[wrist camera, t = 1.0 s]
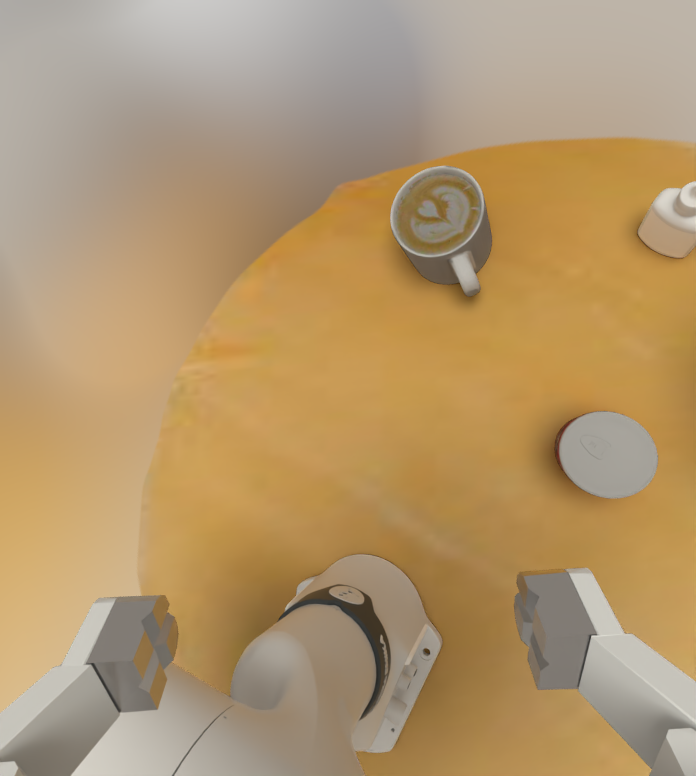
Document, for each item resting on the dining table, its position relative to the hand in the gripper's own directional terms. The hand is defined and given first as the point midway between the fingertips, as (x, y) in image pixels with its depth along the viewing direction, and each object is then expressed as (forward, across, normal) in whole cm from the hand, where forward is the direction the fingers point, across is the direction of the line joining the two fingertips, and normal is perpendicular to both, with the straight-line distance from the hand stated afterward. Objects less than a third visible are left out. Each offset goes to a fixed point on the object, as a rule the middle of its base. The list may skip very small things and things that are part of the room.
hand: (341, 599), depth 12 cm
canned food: (+36, +25, -25) cm, 51 cm away
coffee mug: (+54, +13, -8) cm, 56 cm away
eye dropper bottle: (+47, +34, -6) cm, 58 cm away
